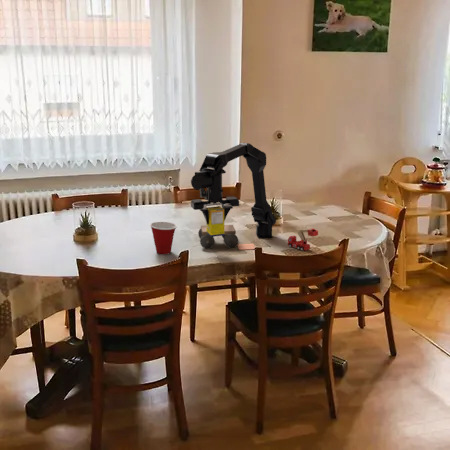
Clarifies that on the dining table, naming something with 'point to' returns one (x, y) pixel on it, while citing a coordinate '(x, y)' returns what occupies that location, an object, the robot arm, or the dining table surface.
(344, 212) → the dining table surface
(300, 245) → the toy fire truck
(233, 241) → the wooden toy car
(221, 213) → the supplement box
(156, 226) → the plastic cup
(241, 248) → the thin pink plate
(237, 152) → the robot arm
